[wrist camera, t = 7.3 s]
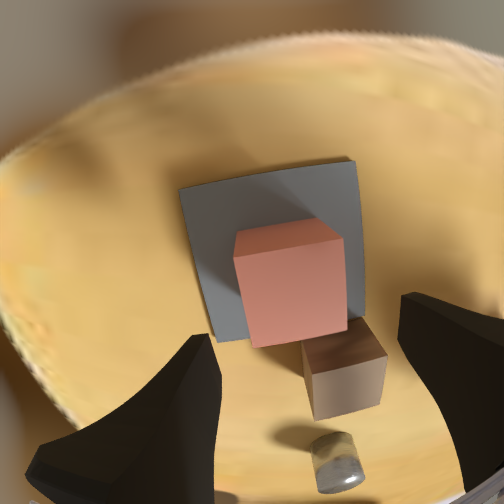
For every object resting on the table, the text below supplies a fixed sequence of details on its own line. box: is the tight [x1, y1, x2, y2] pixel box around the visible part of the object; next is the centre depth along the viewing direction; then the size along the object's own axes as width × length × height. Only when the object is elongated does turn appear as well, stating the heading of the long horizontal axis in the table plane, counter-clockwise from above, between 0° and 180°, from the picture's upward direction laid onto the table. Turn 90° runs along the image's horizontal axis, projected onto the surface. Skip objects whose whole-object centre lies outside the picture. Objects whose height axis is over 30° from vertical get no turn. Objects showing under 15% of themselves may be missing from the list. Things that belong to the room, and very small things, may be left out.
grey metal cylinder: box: [310, 432, 365, 494], centre depth 22 cm, size 5×5×6 cm
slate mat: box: [178, 161, 365, 343], centre depth 18 cm, size 11×11×1 cm
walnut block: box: [300, 318, 388, 421], centre depth 18 cm, size 5×5×5 cm
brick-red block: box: [233, 218, 347, 348], centre depth 15 cm, size 5×5×5 cm
